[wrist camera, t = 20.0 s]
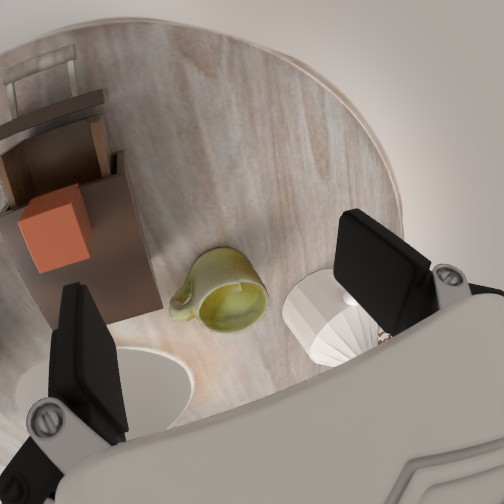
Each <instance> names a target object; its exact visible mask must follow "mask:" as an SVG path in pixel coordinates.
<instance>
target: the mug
mask: <svg viewBox="0 0 504 504" xmlns="http://www.w3.org/2000/svg"><path fill="white" fill-rule="evenodd" d="M190 296H191V298H190V300H189V302H188V303H186V304H184V305H182V304H183V303H184V302H185V301H186V299H187V298H188V297H190ZM268 301H269V296H268V293H267V290H266V287H265V285H264V284H263V282H262V281H261V279H260V277H259V276H258V274H257V273H256V271H255V270H254V269H253V267H252V264H251V263H250V261H249V260H248V258H247V257H246V256H245V255H244V254H243V253H241V252H240V251H238V250H236V249H233V248H228V247H224V248H217V249H213V250H210V251H208V252H206V253H204V254H203V255H201V256H200V257H199V258H198V260H197V261H196V262H195V263H194V265H193V267H192V269H191V271H190V273H189V275H188V276H187V278H186V280H185V282H184V284H183V286H182V287H181V288H180V289H179V290H178V291H177V292H176V294H175V295H174V296H173V297H172V299H171V300H170V303H169V313H170V316H171V318H172V319H174V320H176V321H189V320H191V319H192V318H193V317H196V318H197V319H198V321H199V323H200V324H201V325H202V326H203V327H204V328H205V329H207V330H208V331H210V332H213V333H217V334H236V333H239V332H242V331H245V330H247V329H248V328H249V327H250V326H252V325H253V324H255V323H257V322H258V321H259V320H260V319H261V318H262V317H263V316H264V315H265V312H266V311H267V307H268Z"/></svg>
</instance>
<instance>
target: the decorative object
mask: <svg viewBox="0 0 504 504" xmlns="http://www.w3.org/2000/svg"><path fill="white" fill-rule="evenodd" d="M282 314H283V320H284V322H285V323H286V324H287V326H288V327H289V329H290V330H291V331H292V333H293V334H294V336H295V337H296V338H297V340H298V341H299V343H300V344H301V345H302V347H303V348H304V350H305V351H306V352H307V354H308V355H309V357H310V358H311V359H312V360H313V361H314V362H315V363H317V364H322V365H327V366H332V367H336V366H338V365H340V364H342V363H344V362H346V361H348V360H350V359H352V358H354V357H356V356H358V355H360V354H362V353H364V352H366V351H368V350H370V349H372V348H374V347H376V346H378V324H377V323H376V322H375V321H374V320H373V318H372V317H371V316H370V315H369V314H368V313H367V312H366V311H365V310H364V309H363V308H362V307H361V306H360V305H359V304H358V303H357V301H356V300H355V299H354V298H353V297H352V296H351V295H350V294H349V293H348V292H347V291H346V290H345V289H344V288H343V287H342V286H341V285H340V284H339V283H338V282H337V281H336V279H335V278H334V275H333V269H322V270H319V271H317V272H314V273H312V274H310V275H308V276H306V277H305V278H304V279H303V280H301V281H300V282H299V283H298V284H296V285H295V287H294V288H293V289H292V290H291V292H290V293H289V294H288V296H287V297H286V300H285V302H284V305H283V308H282Z"/></svg>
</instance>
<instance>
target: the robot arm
mask: <svg viewBox="0 0 504 504" xmlns="http://www.w3.org/2000/svg"><path fill="white" fill-rule="evenodd" d="M430 265H431V261H429V260H428V259H427V258H426V257H424V256H423V255H422V254H420V253H419V252H418V251H416V250H415V249H414V248H413V247H411V246H410V245H409V244H407V243H406V242H405V241H403V240H402V239H401V238H399V237H398V236H396V235H395V234H394V233H392V232H391V231H390V230H388V229H387V228H385V227H384V226H383V225H381V224H380V223H378V222H377V221H376V220H374V219H373V218H371V217H370V216H368V215H367V214H366V213H364V212H363V211H361V210H360V209H358V208H357V209H352V210H348V211H345V212H343V214H342V216H341V217H340V219H339V227H338V236H337V245H336V253H335V261H334V268H333V275H334V278H335V279H336V281H337V282H338V283H339V284H340V285H341V286H342V287H343V288H344V289H345V290H346V291H347V292H348V293H349V294H350V295H351V296H352V297H353V298H354V299H355V300H356V301H357V303H358V304H359V305H360V306H361V307H362V308H363V309H364V310H365V311H366V312H367V313H368V314H369V315H370V316H371V317H372V318H373V320H374V321H375V322H376V323H377V324H378V325H379V326H380V327H381V328H382V329H383V330H384V331H385V332H386V333H389V334H390V335H391V336H392V337H393V338H391V339H389V340H387V341H385V342H383V343H381V344H380V345H378V346H376V347H374V348H372V349H370V350H368V351H366V352H364V353H362V354H360V355H358V356H356V357H354V358H352V359H350V360H348V361H346V362H344V363H342V364H340V365H338V366H336V367H334V368H332V369H330V370H327V371H325V372H323V373H321V374H319V375H317V376H314V377H312V378H310V379H308V380H305V381H303V382H301V383H298V384H296V385H294V386H291V387H289V388H286V389H284V390H281V391H279V392H277V393H274V394H272V395H269V396H266V397H264V398H261V399H259V400H256V401H253V402H251V403H248V404H245V405H242V406H240V407H237V408H234V409H231V410H228V411H225V412H222V413H219V414H216V415H213V416H210V417H207V418H204V419H201V420H197V421H194V422H191V423H188V424H185V425H181V426H178V427H175V428H171V429H168V430H164V431H160V432H157V433H153V434H149V435H146V436H143V437H140V438H136V439H133V440H129V441H126V438H125V432H128V430H129V428H128V423H127V418H126V413H125V407H124V401H123V396H122V389H121V383H120V376H119V369H118V360H117V352H116V346H115V342H114V340H113V338H112V336H111V334H110V332H109V330H108V328H107V326H106V324H105V322H104V320H103V318H102V316H101V314H100V312H99V310H98V308H97V306H96V304H95V302H94V300H93V298H92V295H91V293H90V291H89V289H88V287H87V285H86V284H84V285H81V283H80V282H75V283H72V284H68V285H65V286H63V290H62V297H61V305H60V313H59V322H58V329H55V330H54V331H53V332H52V337H51V348H50V362H49V383H48V384H49V385H48V386H49V387H48V398H43V399H40V400H38V402H36V403H35V404H33V406H32V407H31V409H30V410H29V412H28V415H27V419H26V426H27V431H28V433H29V434H30V436H29V438H28V439H27V440H26V441H25V443H24V444H23V445H22V447H21V448H20V449H19V451H18V452H17V453H16V455H15V456H14V457H13V459H12V460H11V461H10V463H9V464H8V465H7V467H6V468H5V470H4V471H3V472H2V474H1V476H0V500H1V502H2V504H504V292H503V291H502V290H499V289H495V288H490V287H485V286H480V285H475V284H471V283H468V282H467V279H466V277H465V275H464V273H463V272H462V271H461V270H459V269H458V268H456V267H454V266H452V265H449V264H438V265H436V266H435V267H434V269H433V271H430V270H429V268H430ZM121 442H123V443H121ZM118 443H120V444H118Z"/></svg>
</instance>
